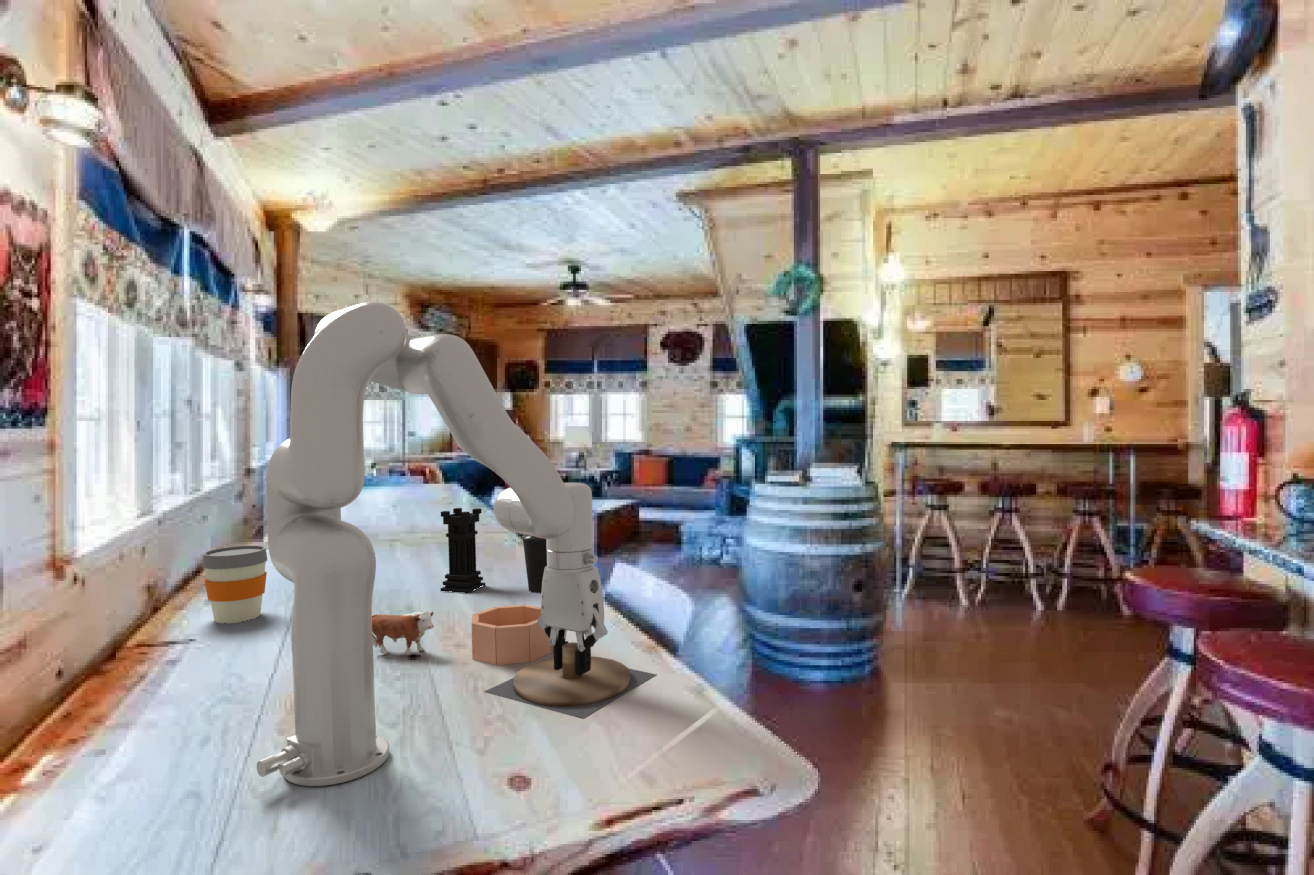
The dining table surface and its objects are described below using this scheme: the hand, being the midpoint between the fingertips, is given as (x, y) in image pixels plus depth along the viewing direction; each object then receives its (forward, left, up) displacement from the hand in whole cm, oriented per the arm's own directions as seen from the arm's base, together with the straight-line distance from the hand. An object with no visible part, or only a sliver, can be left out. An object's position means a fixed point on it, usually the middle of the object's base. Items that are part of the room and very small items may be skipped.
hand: (572, 669), depth 120 cm
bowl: (+7, +20, -3) cm, 21 cm away
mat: (0, 0, -3) cm, 3 cm away
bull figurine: (-3, +38, -3) cm, 38 cm away
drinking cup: (+45, +47, -3) cm, 65 cm away
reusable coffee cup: (-6, +90, -3) cm, 90 cm away
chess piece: (+37, +65, -3) cm, 75 cm away
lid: (0, 0, -2) cm, 2 cm away
